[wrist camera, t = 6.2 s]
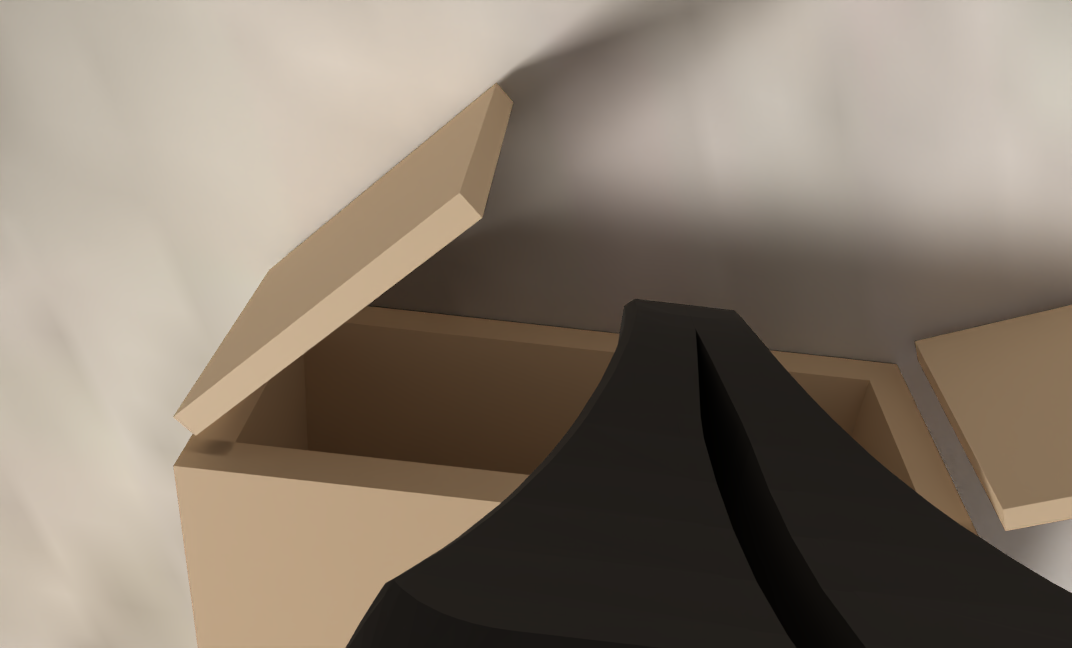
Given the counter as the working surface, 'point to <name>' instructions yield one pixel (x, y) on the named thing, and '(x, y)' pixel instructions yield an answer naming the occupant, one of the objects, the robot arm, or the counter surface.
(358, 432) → the cardboard box
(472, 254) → the counter surface
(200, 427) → the left flap
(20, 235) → the counter surface
